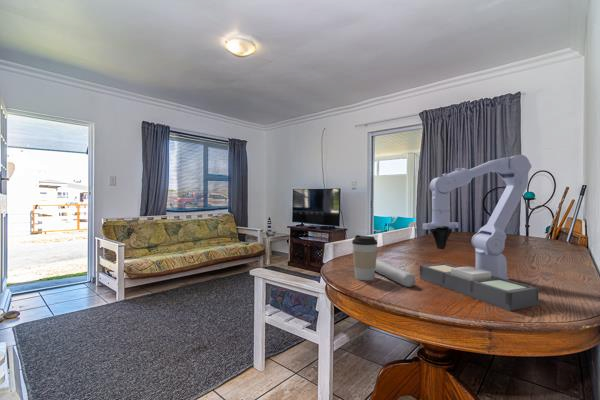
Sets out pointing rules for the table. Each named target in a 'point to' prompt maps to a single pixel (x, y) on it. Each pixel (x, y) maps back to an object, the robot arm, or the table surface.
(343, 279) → the table surface
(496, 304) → the grey button box
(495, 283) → the sage key
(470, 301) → the table surface
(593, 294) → the table surface
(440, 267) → the sand key
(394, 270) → the tube
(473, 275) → the middle key
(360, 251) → the coffee cup
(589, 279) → the table surface
